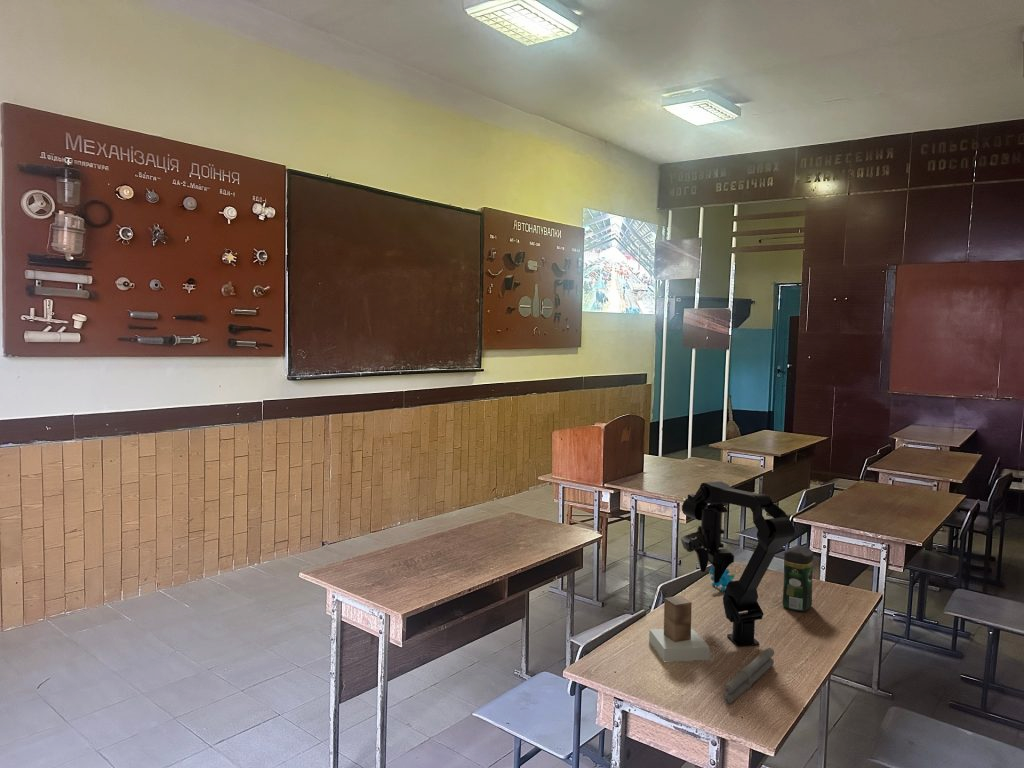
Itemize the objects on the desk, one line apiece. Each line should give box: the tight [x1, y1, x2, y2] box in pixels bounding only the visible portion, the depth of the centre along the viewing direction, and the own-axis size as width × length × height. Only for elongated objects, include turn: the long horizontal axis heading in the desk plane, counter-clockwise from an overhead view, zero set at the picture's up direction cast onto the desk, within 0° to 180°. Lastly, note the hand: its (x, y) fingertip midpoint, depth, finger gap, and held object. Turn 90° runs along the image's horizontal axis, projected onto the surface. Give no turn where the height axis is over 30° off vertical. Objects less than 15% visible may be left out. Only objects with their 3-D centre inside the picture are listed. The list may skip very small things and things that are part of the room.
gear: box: [708, 565, 736, 592], centre depth 231 cm, size 11×6×10 cm
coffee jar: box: [781, 544, 814, 612], centre depth 215 cm, size 10×8×19 cm
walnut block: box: [663, 595, 693, 642], centre depth 184 cm, size 5×5×10 cm
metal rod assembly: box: [723, 647, 775, 704], centre depth 167 cm, size 26×3×5 cm, turn 139°
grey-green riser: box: [648, 627, 711, 662], centre depth 184 cm, size 12×12×4 cm
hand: (709, 577), depth 203 cm, fingers open, 9 cm apart
